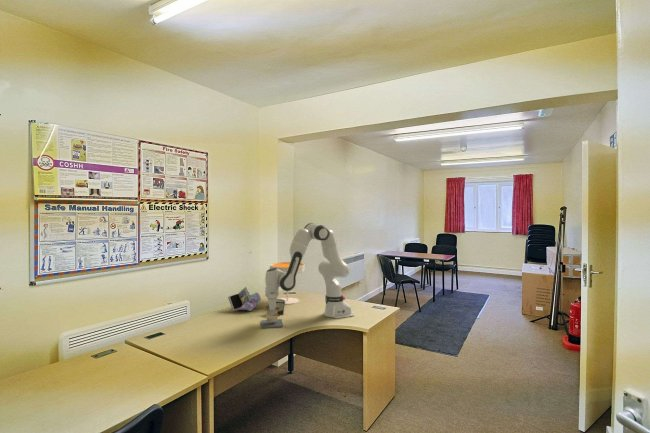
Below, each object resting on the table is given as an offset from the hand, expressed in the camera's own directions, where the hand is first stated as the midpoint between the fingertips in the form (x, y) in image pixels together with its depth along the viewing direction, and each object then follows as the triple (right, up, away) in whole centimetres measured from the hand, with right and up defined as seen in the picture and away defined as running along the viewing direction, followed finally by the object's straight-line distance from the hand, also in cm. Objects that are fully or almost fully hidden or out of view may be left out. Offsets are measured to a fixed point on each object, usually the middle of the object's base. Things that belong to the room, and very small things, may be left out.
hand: (271, 313), depth 222 cm
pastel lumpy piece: (-25, -7, +34) cm, 43 cm away
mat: (0, -8, 0) cm, 8 cm away
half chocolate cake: (+1, -7, +25) cm, 26 cm away
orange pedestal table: (+4, -7, +58) cm, 58 cm away
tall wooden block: (0, -5, 0) cm, 5 cm away
